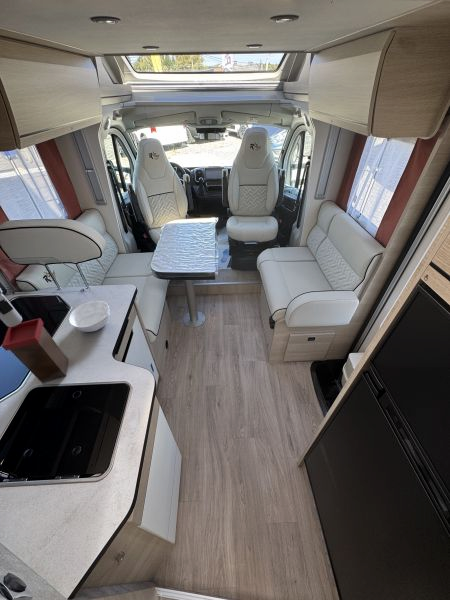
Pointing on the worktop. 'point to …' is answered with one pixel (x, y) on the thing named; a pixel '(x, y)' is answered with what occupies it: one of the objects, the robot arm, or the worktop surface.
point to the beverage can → (11, 316)
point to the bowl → (90, 316)
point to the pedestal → (43, 358)
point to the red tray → (23, 334)
